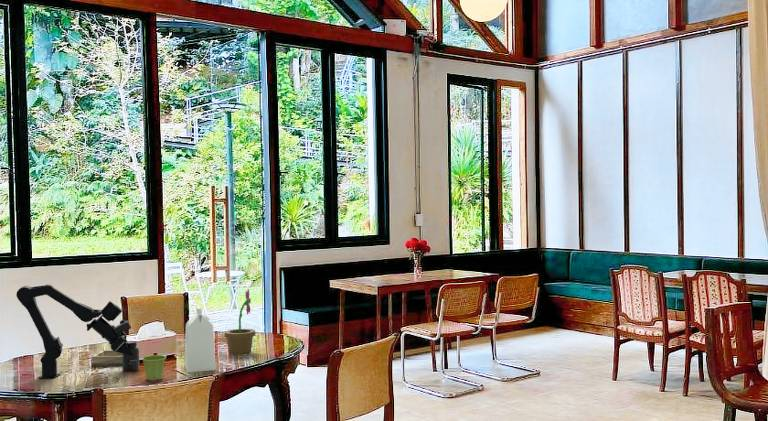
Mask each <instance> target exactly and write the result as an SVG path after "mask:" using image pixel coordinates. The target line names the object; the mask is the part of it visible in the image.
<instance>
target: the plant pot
mask: <svg viewBox="0 0 768 421" xmlns="http://www.w3.org/2000/svg"><path fill="white" fill-rule="evenodd" d="M166 359H167V355H160V354H157V355H156V354H155V355H148V356H144V357H142V358H141V360H142V362H143V365H144V371H145V378H146V380H147V381H149V382H150V381H151V382H152V381H153V382H154V381H157V380H162V379H163V377H164V376H163V375H164V368H165V362H166Z"/></svg>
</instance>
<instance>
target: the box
mask: <svg viewBox="0 0 768 421" xmlns="http://www.w3.org/2000/svg"><path fill="white" fill-rule="evenodd" d="M90 359H91V367H103V366H106V367H109V366H113V367H114V366H122V353H119V352H115V351H113V350H112V349H107V350H106V349H105V350H102V351H99V352H98V353H96V354H94V355H92V356H91V358H90Z"/></svg>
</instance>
